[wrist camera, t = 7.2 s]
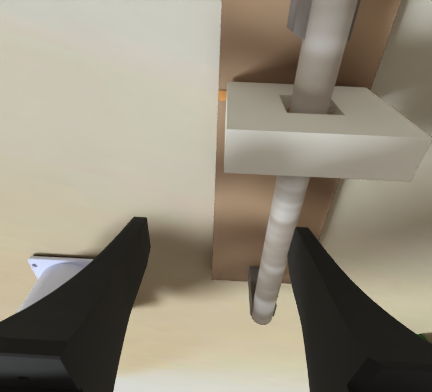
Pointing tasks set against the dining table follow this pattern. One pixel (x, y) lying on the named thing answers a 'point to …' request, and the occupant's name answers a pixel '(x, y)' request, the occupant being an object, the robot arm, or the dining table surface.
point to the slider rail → (300, 103)
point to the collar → (319, 135)
